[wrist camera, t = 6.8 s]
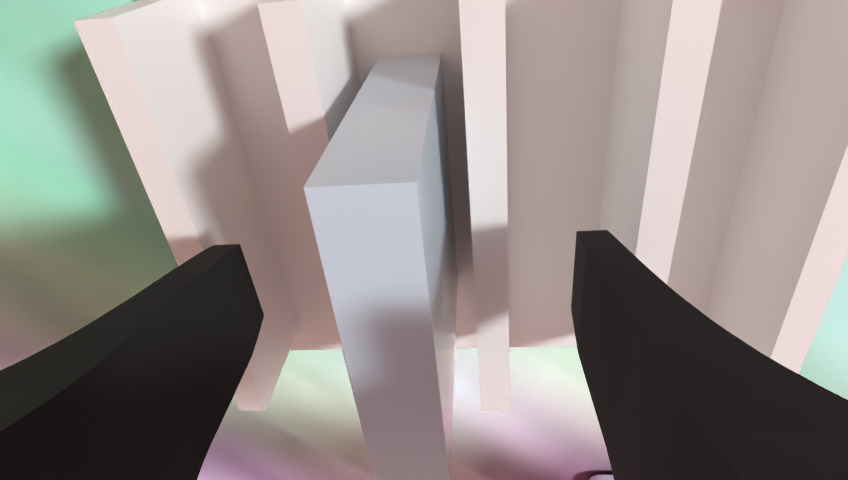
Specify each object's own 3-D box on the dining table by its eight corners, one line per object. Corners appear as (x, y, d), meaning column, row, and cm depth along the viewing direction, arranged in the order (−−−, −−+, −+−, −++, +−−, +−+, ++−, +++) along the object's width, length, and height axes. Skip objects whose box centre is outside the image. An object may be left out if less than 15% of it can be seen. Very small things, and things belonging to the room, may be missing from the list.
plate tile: (457, 278, 17) (449, 482, 11) (408, 279, 17) (374, 480, 11) (441, 53, 13) (416, 181, 7) (378, 58, 13) (303, 187, 7)
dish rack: (724, 323, 18) (789, 434, 15) (280, 331, 20) (236, 431, 16) (853, -134, 11) (1043, -148, 8) (154, -57, 13) (27, -37, 9)
